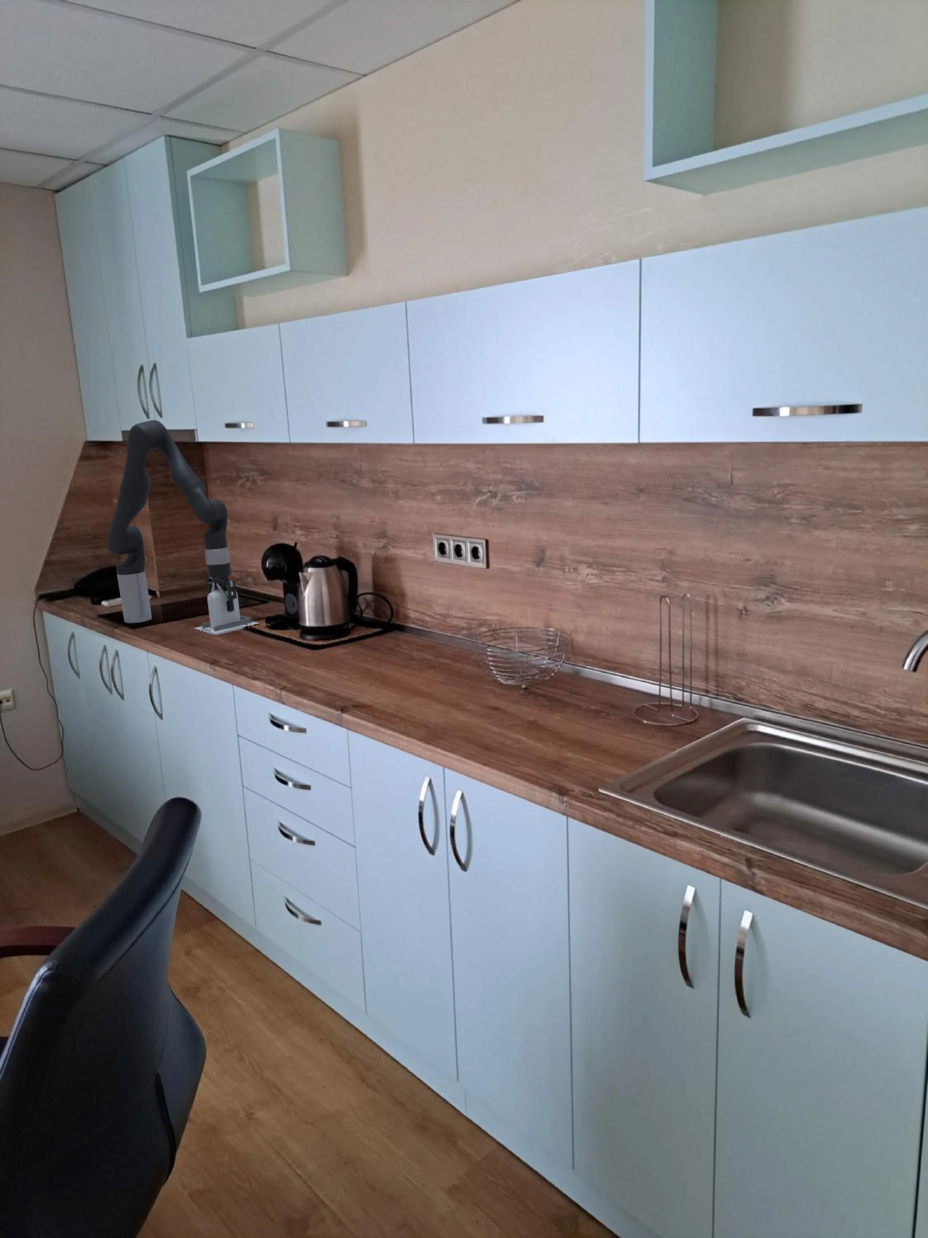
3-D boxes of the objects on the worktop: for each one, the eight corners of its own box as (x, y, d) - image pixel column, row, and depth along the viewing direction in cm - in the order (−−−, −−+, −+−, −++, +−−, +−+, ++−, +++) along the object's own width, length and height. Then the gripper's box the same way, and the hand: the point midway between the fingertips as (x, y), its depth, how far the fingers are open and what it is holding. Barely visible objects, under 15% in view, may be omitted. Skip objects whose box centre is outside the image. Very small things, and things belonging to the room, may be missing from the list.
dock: (194, 629, 298) (193, 623, 297) (236, 619, 309) (235, 613, 308) (215, 635, 288) (214, 628, 288) (258, 624, 299) (257, 618, 298)
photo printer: (236, 621, 303) (231, 585, 300) (243, 623, 300) (238, 586, 297) (208, 628, 296) (203, 591, 293) (215, 629, 293) (210, 592, 290)
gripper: (196, 561, 296) (203, 609, 299) (218, 565, 286) (225, 614, 289) (217, 558, 301) (223, 605, 305) (239, 561, 291) (245, 610, 295)
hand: (224, 610), depth 297 cm, fingers open, 8 cm apart
